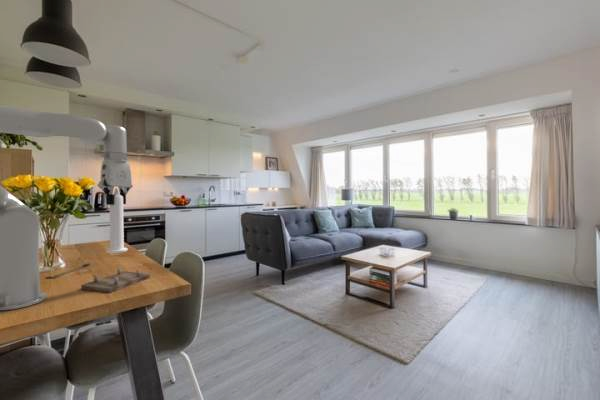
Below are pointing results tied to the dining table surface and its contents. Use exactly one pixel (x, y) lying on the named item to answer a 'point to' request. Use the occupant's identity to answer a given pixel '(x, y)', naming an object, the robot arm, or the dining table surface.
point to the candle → (116, 225)
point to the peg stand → (115, 281)
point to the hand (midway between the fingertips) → (116, 203)
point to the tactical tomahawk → (67, 272)
